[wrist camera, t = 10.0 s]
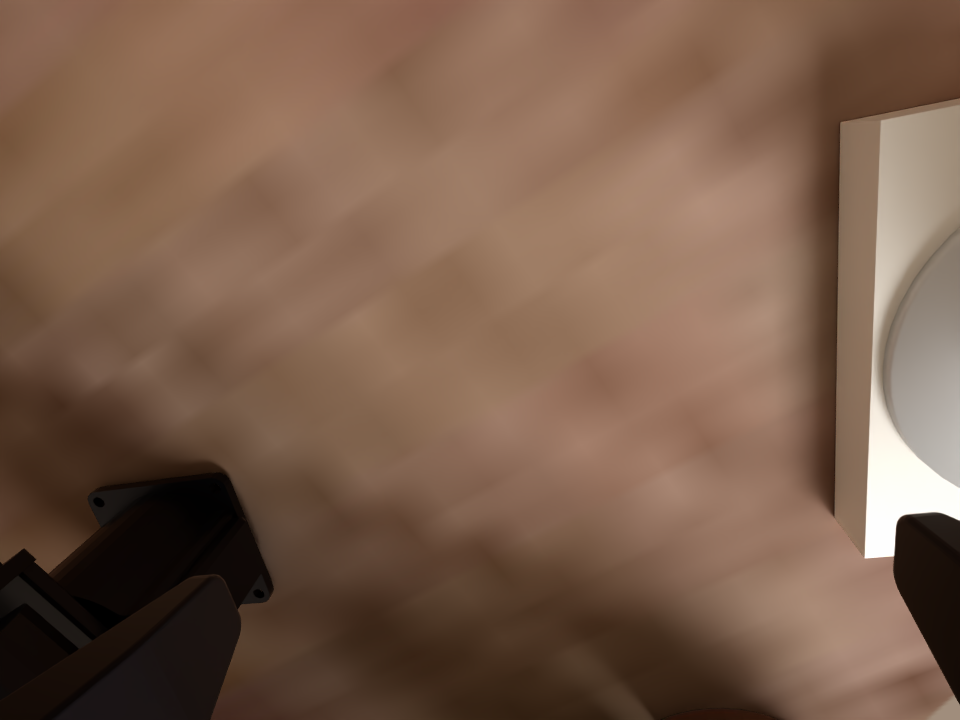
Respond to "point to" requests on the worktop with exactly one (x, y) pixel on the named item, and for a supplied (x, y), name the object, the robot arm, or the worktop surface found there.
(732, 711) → the food container
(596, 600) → the worktop surface
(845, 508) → the scale
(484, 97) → the worktop surface
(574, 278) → the worktop surface
